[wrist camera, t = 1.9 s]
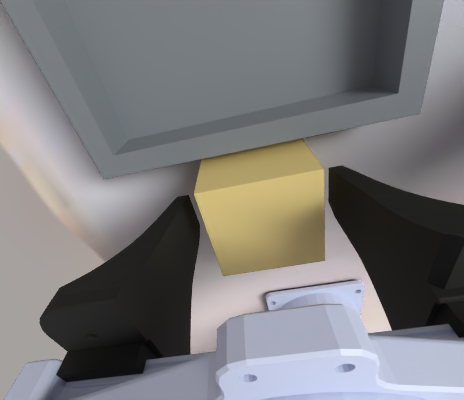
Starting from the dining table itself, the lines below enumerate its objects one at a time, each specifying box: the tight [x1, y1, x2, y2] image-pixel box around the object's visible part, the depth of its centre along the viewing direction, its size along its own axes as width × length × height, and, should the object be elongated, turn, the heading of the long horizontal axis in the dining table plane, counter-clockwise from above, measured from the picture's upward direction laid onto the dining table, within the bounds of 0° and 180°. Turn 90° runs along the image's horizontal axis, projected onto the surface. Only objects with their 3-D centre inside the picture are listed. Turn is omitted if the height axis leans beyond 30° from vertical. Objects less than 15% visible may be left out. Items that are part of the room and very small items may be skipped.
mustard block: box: [194, 138, 325, 276], centre depth 13 cm, size 5×5×5 cm
